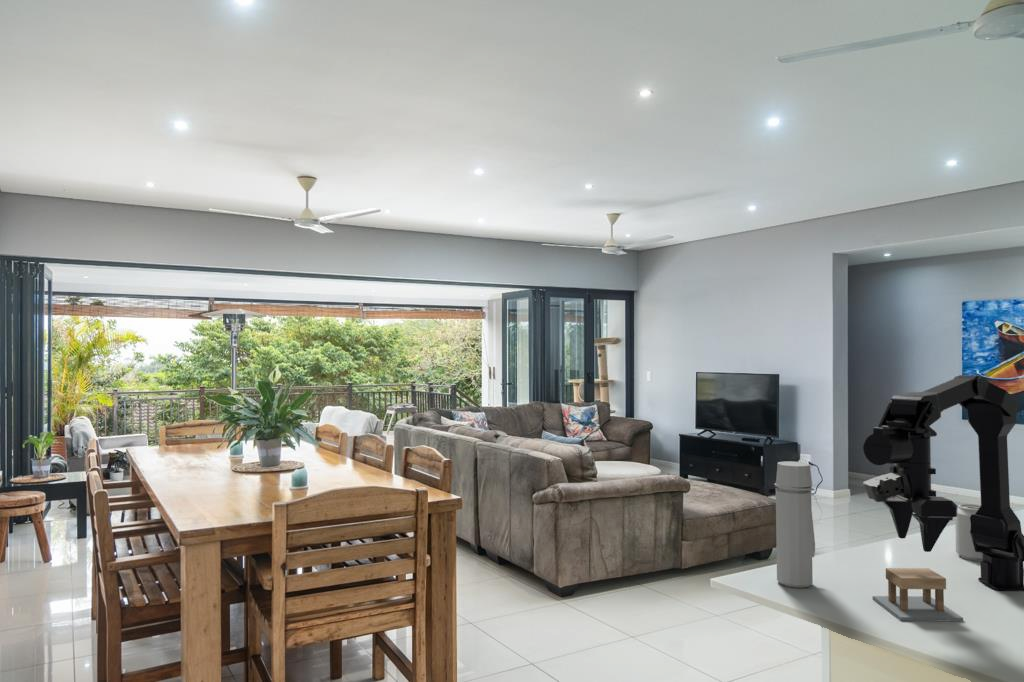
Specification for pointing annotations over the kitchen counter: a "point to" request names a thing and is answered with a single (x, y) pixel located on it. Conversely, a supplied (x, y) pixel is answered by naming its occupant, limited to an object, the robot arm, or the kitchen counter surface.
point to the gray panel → (917, 609)
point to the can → (966, 532)
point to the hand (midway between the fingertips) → (914, 544)
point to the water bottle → (794, 524)
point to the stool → (915, 585)
